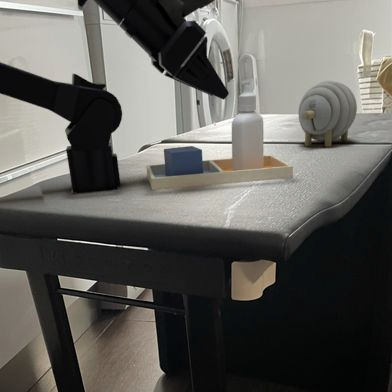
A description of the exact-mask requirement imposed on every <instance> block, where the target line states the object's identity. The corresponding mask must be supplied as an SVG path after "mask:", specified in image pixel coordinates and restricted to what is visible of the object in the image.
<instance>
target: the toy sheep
mask: <svg viewBox="0 0 392 392" xmlns="http://www.w3.org/2000/svg"><path fill="white" fill-rule="evenodd" d="M357 109H358V104H357V99H356V97H355V94H354V92H353V91H352V90H351V89H350V88H349V86H347V85H346V84H344V83H342V82H339V81H335V80H324V81H321V82H319V83H317V84H315V85H314V86H312V87H310V88H309V89H308V90H307V91H306V92H305V93H304V94H303V96H302V97H301V100H300V102H299V105H298V122H299V125H300V127H301V129H302V131H303V132H304V145H305V147H311V145H312V144H313V143H312V141H313V140H314V141H318V142H324V146H325V147H326V148H330V147H331V146H332V141H335V140H337V139H339V138H340V141H342V142H347V141H348V138H349V137H348V134H349V129H350V128H351V126H352V125H353V123H354V122H355V120H356V116H357V111H358V110H357Z"/></svg>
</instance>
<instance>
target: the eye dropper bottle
mask: <svg viewBox="0 0 392 392" xmlns="http://www.w3.org/2000/svg"><path fill="white" fill-rule="evenodd" d="M238 111H239V112H238V114H237V115H236V116H234V118H232V120H231V158H232V171H237V170H249V169H260V168H263V156H264V118H263V116H262V115H261V114H260V113H258V112H257V94H255V93H253V92H252V89H251V84H244V87H243V92H242V93H241V94H240V95H238Z"/></svg>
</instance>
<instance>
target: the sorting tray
mask: <svg viewBox="0 0 392 392" xmlns="http://www.w3.org/2000/svg"><path fill="white" fill-rule="evenodd" d="M145 168H146V169H145V170H146V177H147V180H148V182H149V184H150V188H151V190H152V191H157V190H170V189H179V188H191V187H203V186H212V185H213V186H214V185H225V184H238V183H247V182H259V181H270V180H271V181H272V180H281V179H282V180H283V179H292V178H293V177H294V175H293V174H294V166H293V165H291V164H290V163H287V162H286V161H284V160H282V159H281V158H278V157H277V156H275V155H273V154H265V155H264V154H263V168H260V169H249V170H237V171H232V157H231V158H219V159H206V160H205V159H204V160H203V174H191V175H180V176H168V177H166V172H165V163H159V164H146V165H145Z"/></svg>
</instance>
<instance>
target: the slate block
mask: <svg viewBox="0 0 392 392" xmlns="http://www.w3.org/2000/svg"><path fill="white" fill-rule="evenodd" d="M163 157H164V164H165V172H166V177H168V176H180V175H191V174H203V161H204V160H203V149H201V148H198V147H197V146H194V145H187V146H179V147H178V146H177V147H170V148H164V149H163Z"/></svg>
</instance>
